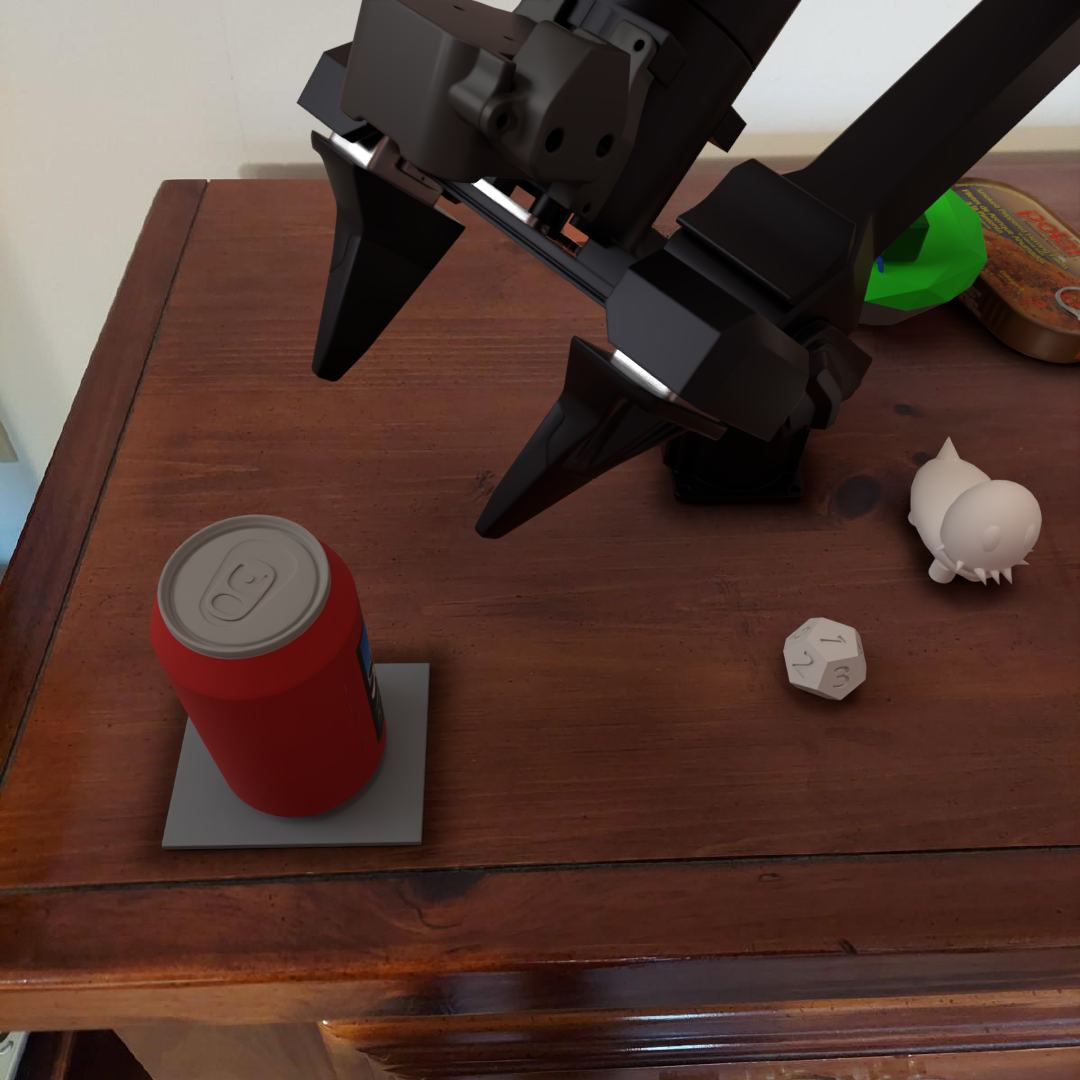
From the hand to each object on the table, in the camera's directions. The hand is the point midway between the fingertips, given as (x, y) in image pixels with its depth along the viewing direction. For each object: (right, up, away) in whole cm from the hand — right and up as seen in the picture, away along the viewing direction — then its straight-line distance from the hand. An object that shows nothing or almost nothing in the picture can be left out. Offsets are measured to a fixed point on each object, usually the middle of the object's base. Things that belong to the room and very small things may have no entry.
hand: (399, 451), depth 34 cm
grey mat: (-5, -12, +8) cm, 15 cm away
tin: (+29, +12, +25) cm, 40 cm away
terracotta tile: (+8, +16, +29) cm, 34 cm away
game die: (+17, -9, +11) cm, 22 cm away
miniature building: (+23, +11, +26) cm, 37 cm away
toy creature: (+25, -4, +15) cm, 29 cm away
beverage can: (-5, -12, +8) cm, 15 cm away
